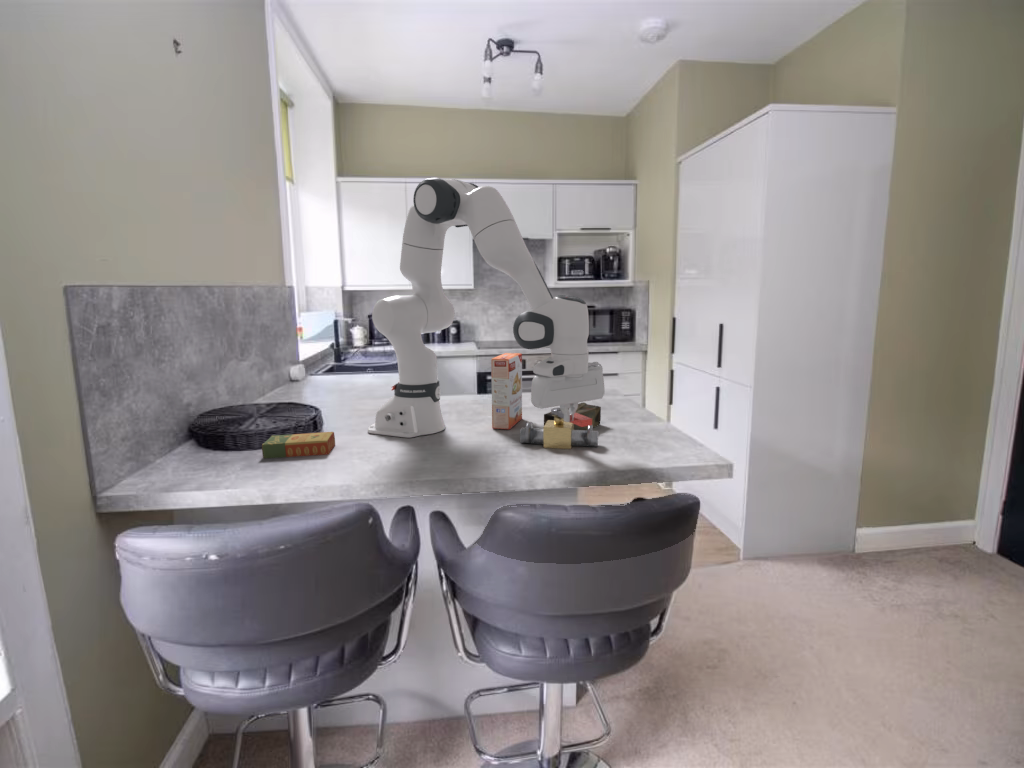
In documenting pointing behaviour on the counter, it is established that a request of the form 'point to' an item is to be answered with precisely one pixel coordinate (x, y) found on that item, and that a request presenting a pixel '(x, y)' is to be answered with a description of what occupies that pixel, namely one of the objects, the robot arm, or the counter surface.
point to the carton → (298, 445)
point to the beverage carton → (584, 410)
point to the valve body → (559, 435)
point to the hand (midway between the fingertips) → (568, 421)
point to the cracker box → (506, 390)
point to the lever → (578, 418)
